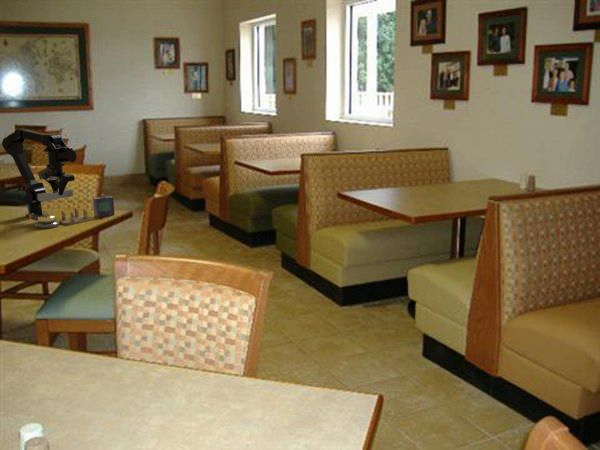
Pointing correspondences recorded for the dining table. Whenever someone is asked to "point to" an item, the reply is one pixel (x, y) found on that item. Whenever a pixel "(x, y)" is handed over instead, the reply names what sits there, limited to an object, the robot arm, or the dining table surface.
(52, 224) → the nut base
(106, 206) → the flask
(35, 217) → the grey red-tipped part
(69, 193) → the spanner
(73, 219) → the rack
